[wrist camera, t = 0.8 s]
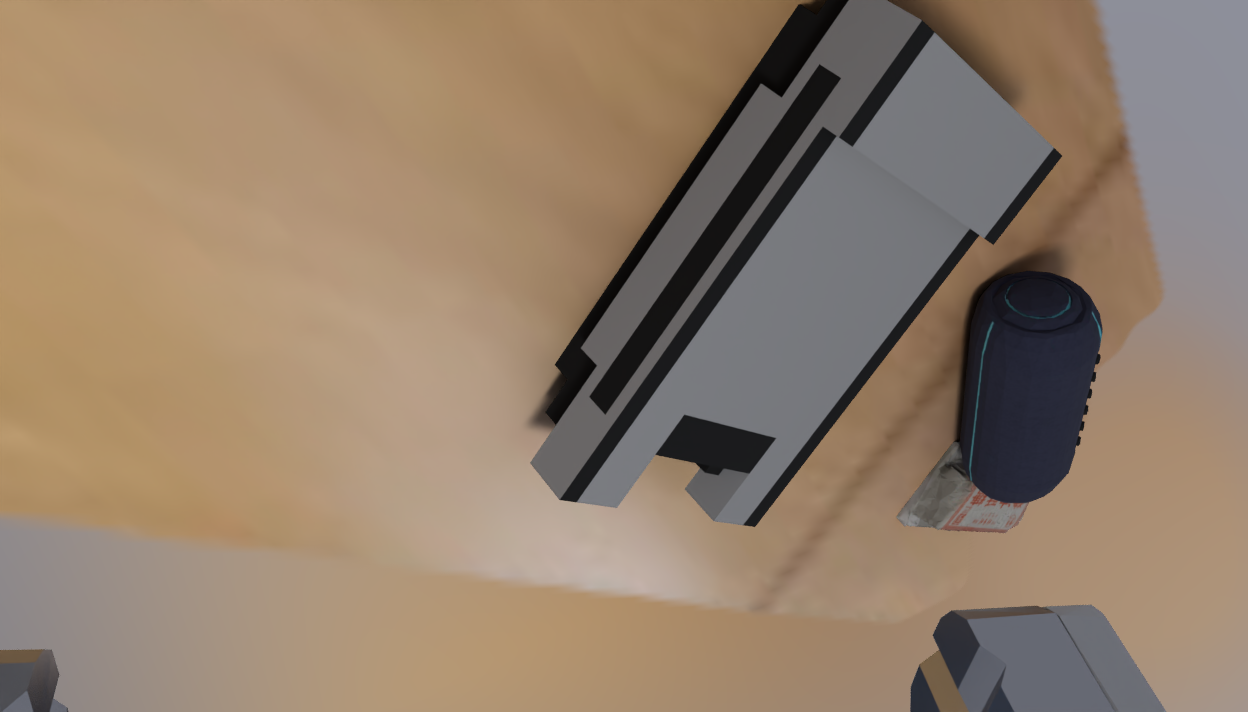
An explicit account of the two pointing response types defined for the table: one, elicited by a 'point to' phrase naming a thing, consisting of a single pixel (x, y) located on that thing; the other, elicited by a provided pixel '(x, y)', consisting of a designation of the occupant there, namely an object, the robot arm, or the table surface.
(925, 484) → the packaged product
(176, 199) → the table surface
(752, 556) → the table surface
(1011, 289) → the portable speaker
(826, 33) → the game console
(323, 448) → the table surface
